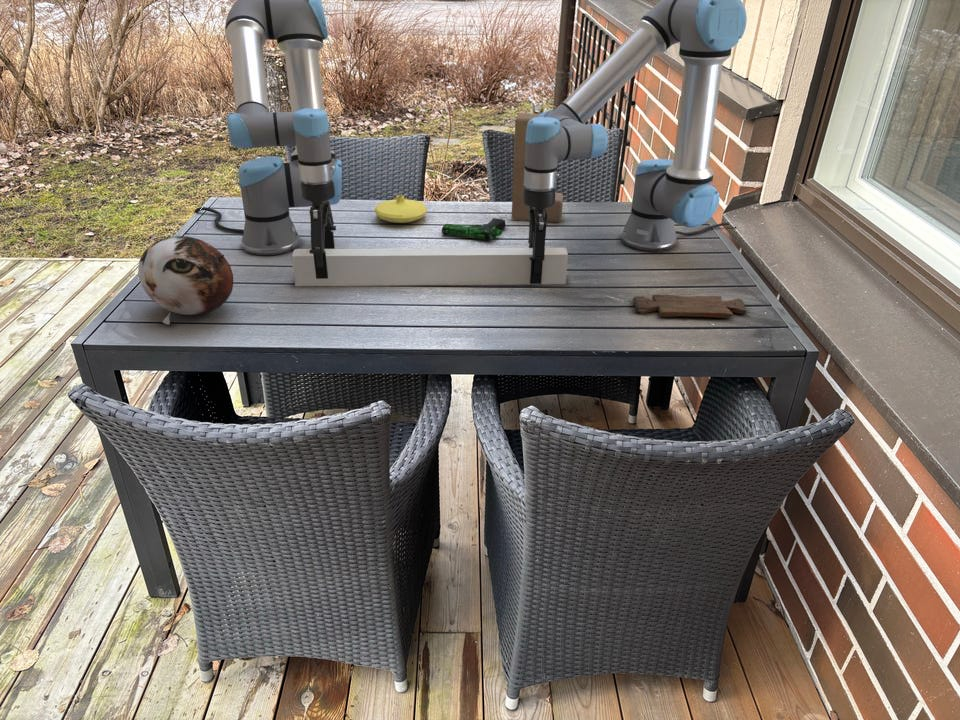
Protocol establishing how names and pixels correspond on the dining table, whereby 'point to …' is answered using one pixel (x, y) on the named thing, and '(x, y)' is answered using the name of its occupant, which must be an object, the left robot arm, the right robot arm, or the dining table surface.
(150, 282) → the eye print balloon
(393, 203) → the yellow pattypan squash
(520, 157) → the decorative block
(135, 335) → the dining table surface
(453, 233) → the handgun
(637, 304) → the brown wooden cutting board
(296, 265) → the beam
